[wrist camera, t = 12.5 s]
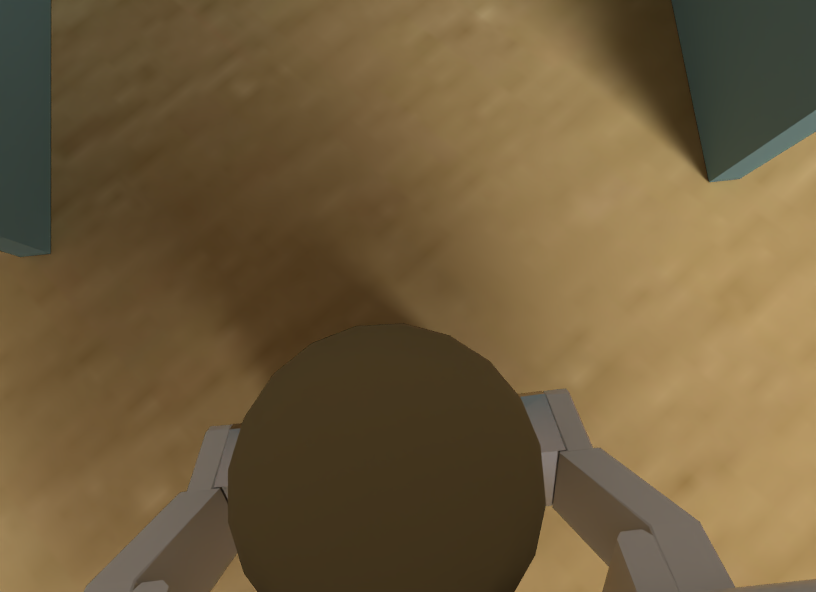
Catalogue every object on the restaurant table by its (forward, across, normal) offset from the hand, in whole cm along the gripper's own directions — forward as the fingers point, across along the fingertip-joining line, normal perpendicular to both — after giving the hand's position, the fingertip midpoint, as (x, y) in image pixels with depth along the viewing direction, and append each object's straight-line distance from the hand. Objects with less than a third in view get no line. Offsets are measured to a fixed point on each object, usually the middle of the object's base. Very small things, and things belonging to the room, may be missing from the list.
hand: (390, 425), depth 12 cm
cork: (+4, 0, +5) cm, 7 cm away
